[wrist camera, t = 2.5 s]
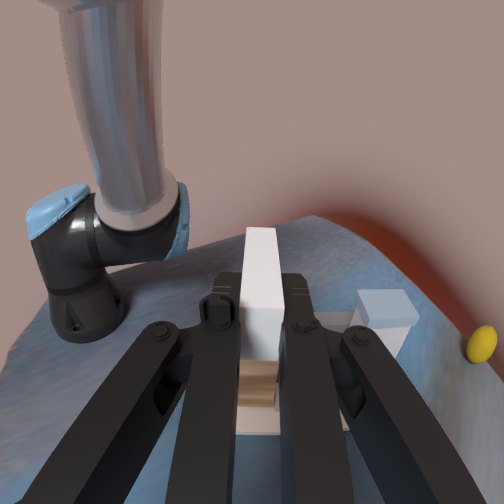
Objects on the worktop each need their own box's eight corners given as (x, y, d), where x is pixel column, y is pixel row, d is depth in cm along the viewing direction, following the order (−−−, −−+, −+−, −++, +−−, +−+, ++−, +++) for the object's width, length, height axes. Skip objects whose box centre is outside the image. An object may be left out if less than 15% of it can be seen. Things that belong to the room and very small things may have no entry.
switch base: (386, 424, 28) (405, 400, 26) (213, 432, 29) (208, 410, 26) (357, 333, 44) (366, 305, 41) (225, 332, 44) (224, 304, 42)
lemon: (478, 377, 32) (501, 343, 28) (455, 363, 36) (476, 328, 32) (484, 359, 35) (505, 326, 31) (463, 346, 39) (482, 312, 35)
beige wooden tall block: (274, 409, 31) (289, 320, 23) (228, 407, 31) (222, 318, 23) (273, 380, 35) (285, 288, 27) (231, 379, 35) (227, 287, 28)
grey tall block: (373, 402, 31) (419, 316, 23) (333, 406, 31) (369, 319, 23) (365, 376, 35) (402, 289, 27) (328, 379, 35) (356, 289, 27)
